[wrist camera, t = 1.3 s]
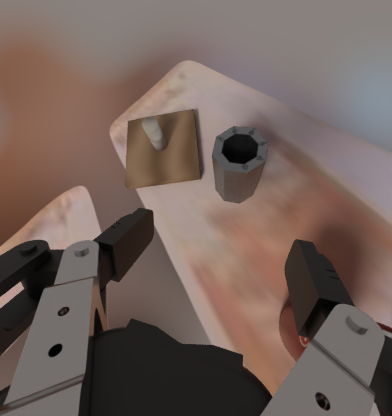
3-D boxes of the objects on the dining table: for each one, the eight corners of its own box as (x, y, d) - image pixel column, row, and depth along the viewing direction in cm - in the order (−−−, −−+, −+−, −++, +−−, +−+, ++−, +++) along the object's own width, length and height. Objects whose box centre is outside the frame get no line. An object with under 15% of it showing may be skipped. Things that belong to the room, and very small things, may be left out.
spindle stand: (194, 115, 37) (188, 81, 30) (201, 179, 32) (195, 155, 26) (131, 126, 38) (112, 96, 32) (129, 189, 34) (106, 169, 27)
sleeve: (256, 171, 31) (270, 129, 22) (251, 205, 30) (263, 175, 20) (220, 166, 32) (219, 124, 23) (213, 199, 31) (208, 167, 21)
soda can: (271, 301, 25) (310, 327, 14) (328, 295, 24) (418, 317, 13) (286, 367, 23) (347, 464, 11) (350, 363, 22) (483, 461, 11)
